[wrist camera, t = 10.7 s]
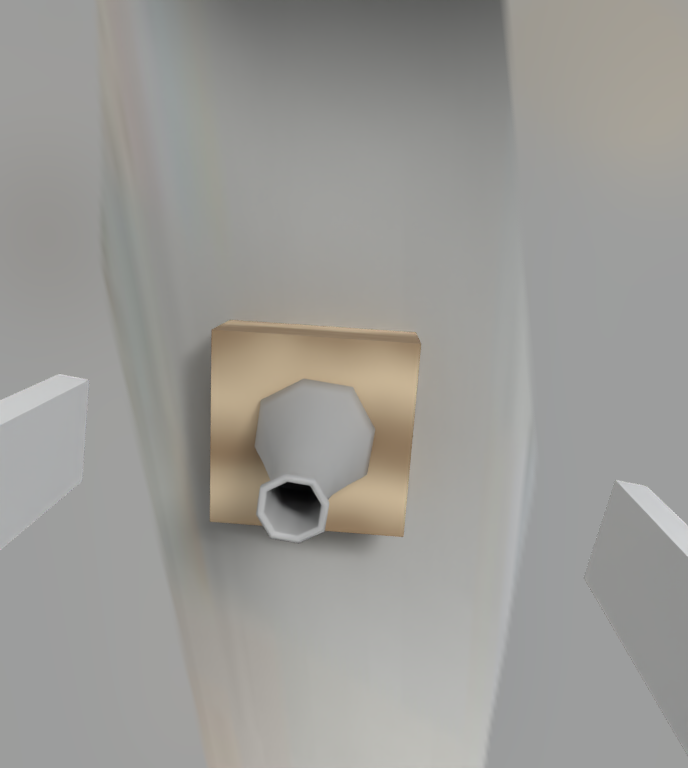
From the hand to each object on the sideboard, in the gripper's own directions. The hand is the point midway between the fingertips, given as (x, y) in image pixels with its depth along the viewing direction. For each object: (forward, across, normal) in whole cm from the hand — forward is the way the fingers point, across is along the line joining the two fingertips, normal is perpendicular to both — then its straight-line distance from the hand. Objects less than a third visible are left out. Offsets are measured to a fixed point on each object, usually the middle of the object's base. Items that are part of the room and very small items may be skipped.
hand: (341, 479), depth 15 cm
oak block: (+25, -2, -6) cm, 26 cm away
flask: (+20, -2, -6) cm, 21 cm away
